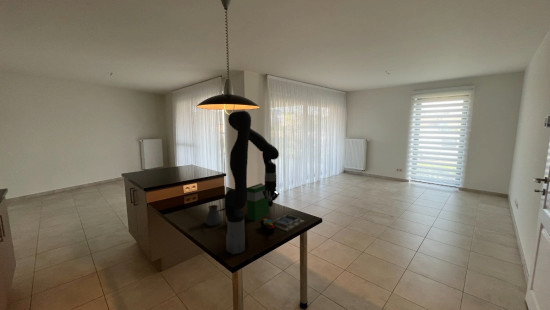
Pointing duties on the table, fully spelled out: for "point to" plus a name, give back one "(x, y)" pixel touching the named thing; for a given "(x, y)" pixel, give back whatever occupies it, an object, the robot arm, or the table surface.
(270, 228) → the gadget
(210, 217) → the coffee pot
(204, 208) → the table surface
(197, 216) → the table surface
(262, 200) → the hardback book
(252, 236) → the table surface
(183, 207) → the table surface
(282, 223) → the window
